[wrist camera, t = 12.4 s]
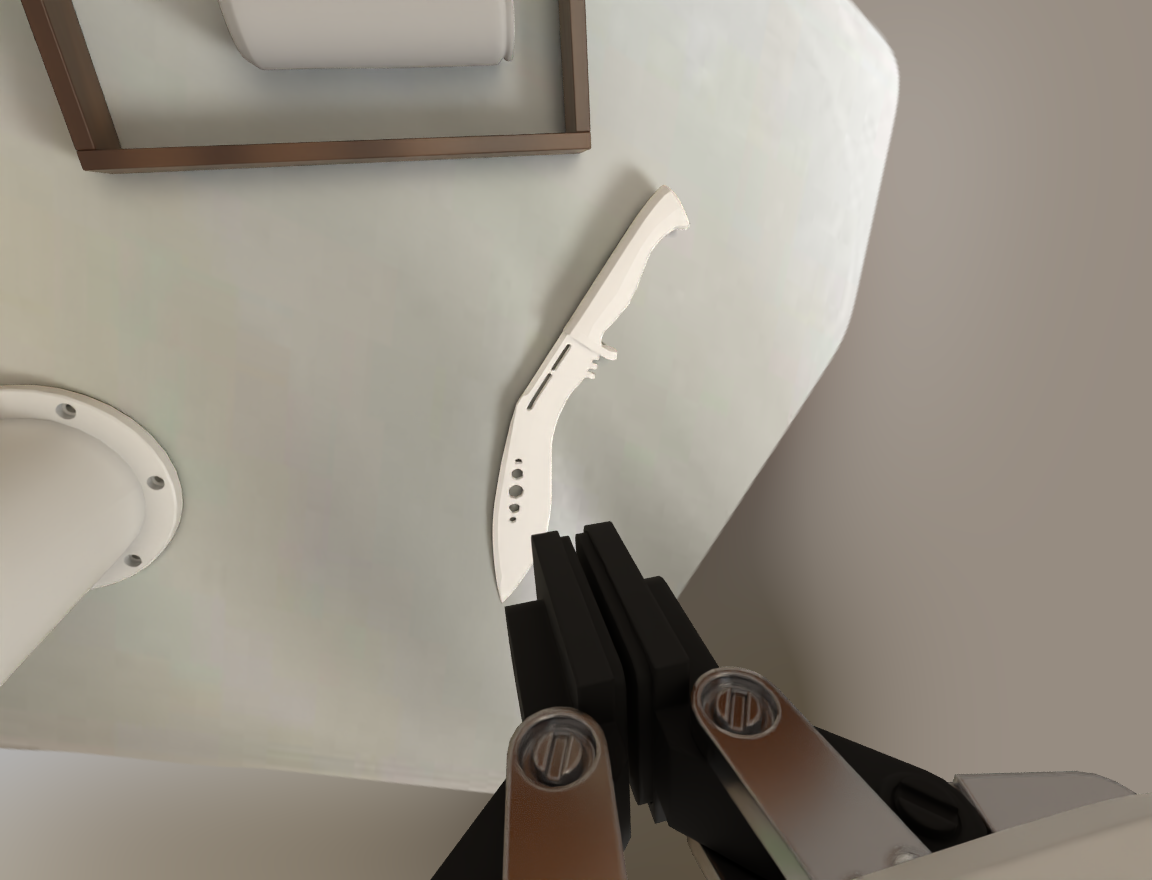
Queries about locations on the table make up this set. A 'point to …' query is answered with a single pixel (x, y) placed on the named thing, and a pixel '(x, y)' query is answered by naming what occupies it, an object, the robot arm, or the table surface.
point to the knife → (568, 389)
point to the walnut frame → (103, 152)
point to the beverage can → (371, 32)
